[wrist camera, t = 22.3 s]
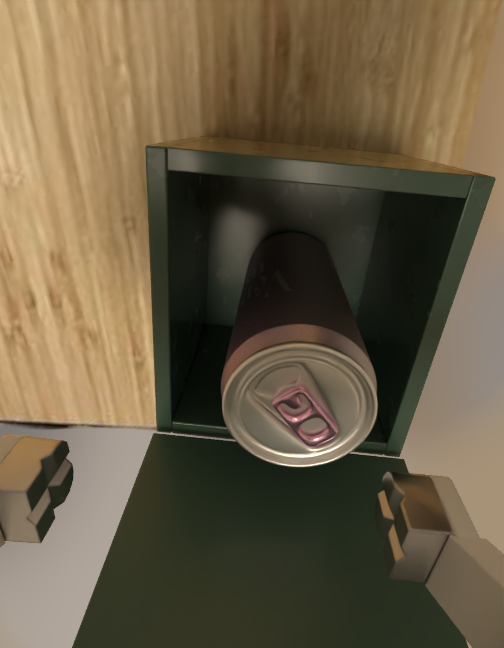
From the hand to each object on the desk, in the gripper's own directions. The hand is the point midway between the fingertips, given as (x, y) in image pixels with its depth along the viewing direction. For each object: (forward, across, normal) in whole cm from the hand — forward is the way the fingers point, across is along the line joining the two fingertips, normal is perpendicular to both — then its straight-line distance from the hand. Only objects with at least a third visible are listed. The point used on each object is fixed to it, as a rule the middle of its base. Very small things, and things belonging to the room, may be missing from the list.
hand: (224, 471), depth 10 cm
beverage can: (+19, -2, +1) cm, 19 cm away
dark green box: (+20, -2, 0) cm, 20 cm away
